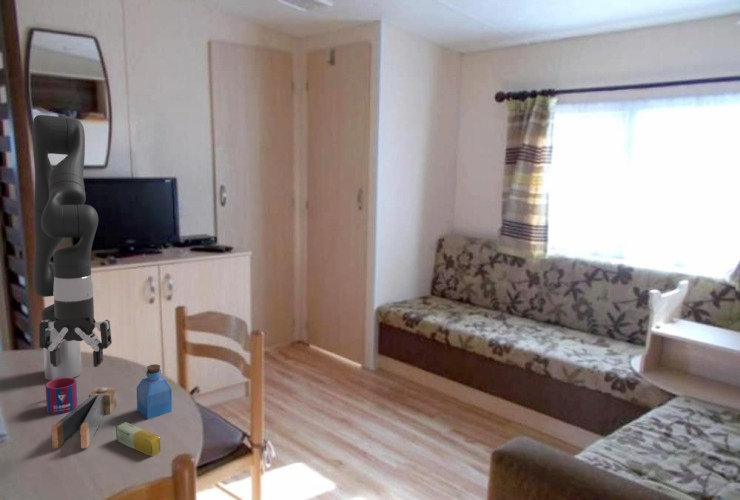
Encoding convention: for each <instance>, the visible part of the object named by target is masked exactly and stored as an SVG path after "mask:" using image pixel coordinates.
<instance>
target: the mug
mask: <svg viewBox="0 0 740 500" xmlns="http://www.w3.org/2000/svg"><path fill="white" fill-rule="evenodd" d="M77 390H78V389H77V380H76V378H60V377H57V378H56V379H54V380H52V381H51V380H48V382H47V383H45V397H46V398H45V399H46V412H47V413H48V414H52V415H60V414H61V415H62V414H67V413H70V412H71V411H73V410H74V409H75V408H76V407H78V393H77V392H78V391H77Z"/></svg>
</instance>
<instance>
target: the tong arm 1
mask: <svg viewBox="0 0 740 500" xmlns="http://www.w3.org/2000/svg"><path fill="white" fill-rule="evenodd" d="M96 399H97V395H91V396H90V397H89V396H88V397H87V399H85V400H84V401H83V402H80V404H79V405H77V407H76V408H75V409H74V410H72V411H70V412H68V414H66V415H65V416H64V417H63V418H61V419H60V420H59V421H57V422H56V423H55V424H54V425H52V426H51V440H52V442H51V443H52V449H57V450H58V449H60V448H61V447H62V446H63V445H64V444H65V443H66V442H67V441H69V440H70V439H71V438H72V437H73V436H74V435H76V434H77V433H78V432H79V431H80V427H81V425H82V424H83V422H84V420H85V418H86V416H87V415H88V413H89V411H90V409H91V408H92V406H93V404H94V402H95V400H96Z"/></svg>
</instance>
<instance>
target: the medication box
mask: <svg viewBox="0 0 740 500" xmlns="http://www.w3.org/2000/svg"><path fill="white" fill-rule="evenodd" d="M115 434H116V441H117V442H118V443H121V444H123V445H125V446H126V447H129V448H132V449H134V450H137V451H138V452H141V453H142V454H145V455H147V456H150V457H154V456H156V455H158V454H159V453H161V452H162V446H161V436H159V435H157V434H154V433H152V432H149V431H148V430H145V429H143V428H140V427H138V426H135V425H133V424H131V423H129V422H126V421H123V422H121V423H119V424H116V426H115Z"/></svg>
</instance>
